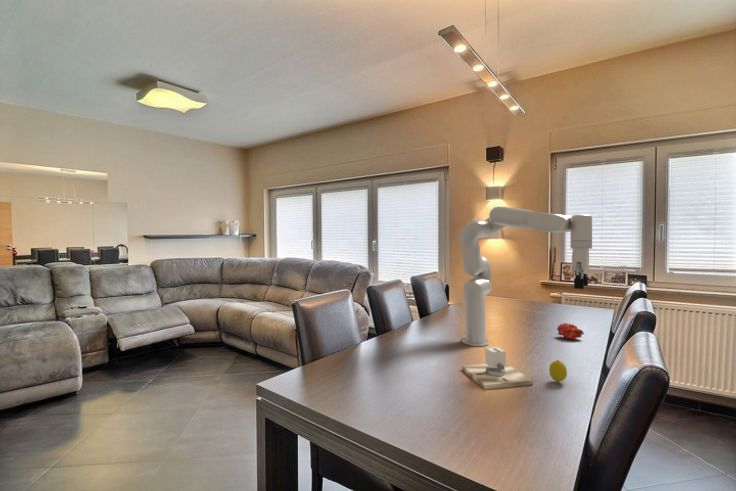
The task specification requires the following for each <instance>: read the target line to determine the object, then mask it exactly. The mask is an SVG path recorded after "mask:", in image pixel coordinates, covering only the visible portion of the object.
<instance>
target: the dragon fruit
mask: <svg viewBox="0 0 736 491" xmlns="http://www.w3.org/2000/svg"><path fill="white" fill-rule="evenodd" d="M556 330H557V332H558V333H557V335H559V336H562V337H563V339H565V340H567V339H569V340H573V341H579V339H578V338H582V336H583V335H585V332H584V331H583V330H582V329H580V328H578V327H577V326H576V325H575V324H574V323H573V324H571V323H568V322H562V323H560V325H558V326H557V328H556Z"/></svg>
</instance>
